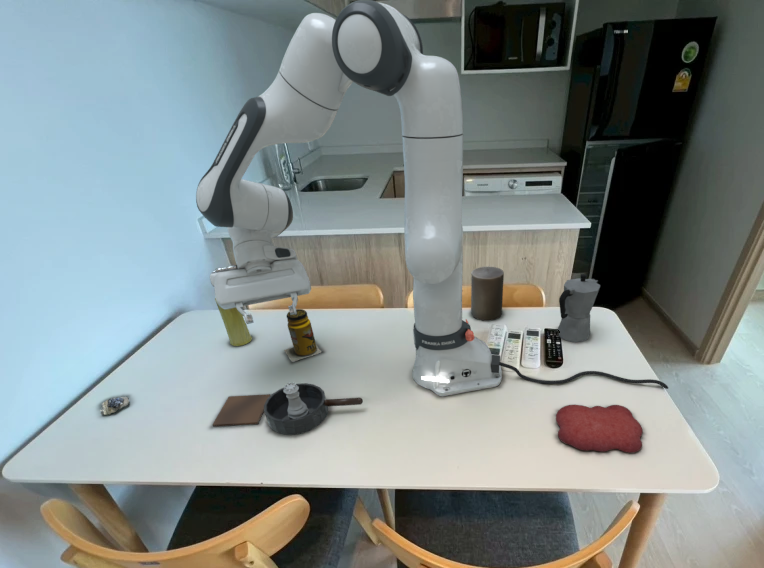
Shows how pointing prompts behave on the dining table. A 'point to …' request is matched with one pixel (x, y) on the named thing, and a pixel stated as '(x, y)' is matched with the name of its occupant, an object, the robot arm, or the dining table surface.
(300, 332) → the condiment
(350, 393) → the dining table surface
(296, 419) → the pan
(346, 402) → the pan handle
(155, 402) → the dining table surface
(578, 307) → the coffeepot
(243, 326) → the vase
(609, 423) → the patty
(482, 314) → the pillar candle
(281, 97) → the robot arm
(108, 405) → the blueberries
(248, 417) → the plate
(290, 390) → the rook chess piece
